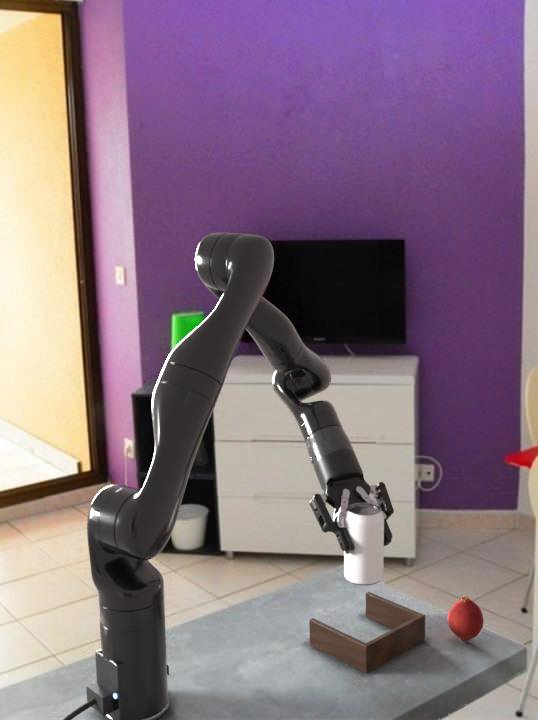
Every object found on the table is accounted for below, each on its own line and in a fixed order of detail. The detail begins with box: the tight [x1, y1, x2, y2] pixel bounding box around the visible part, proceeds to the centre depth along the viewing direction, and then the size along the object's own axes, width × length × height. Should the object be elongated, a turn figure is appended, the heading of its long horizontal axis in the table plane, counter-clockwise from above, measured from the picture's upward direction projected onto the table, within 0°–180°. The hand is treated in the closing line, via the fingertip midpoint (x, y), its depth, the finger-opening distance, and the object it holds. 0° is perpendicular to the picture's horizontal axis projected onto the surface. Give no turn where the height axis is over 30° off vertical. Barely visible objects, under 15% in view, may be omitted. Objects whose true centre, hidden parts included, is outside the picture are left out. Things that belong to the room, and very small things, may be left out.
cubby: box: [309, 591, 426, 674], centre depth 150 cm, size 15×13×4 cm
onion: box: [446, 595, 485, 642], centre depth 150 cm, size 6×6×8 cm
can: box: [343, 503, 385, 586], centre depth 148 cm, size 6×6×12 cm
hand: (369, 547), depth 147 cm, fingers closed on can, 6 cm apart
